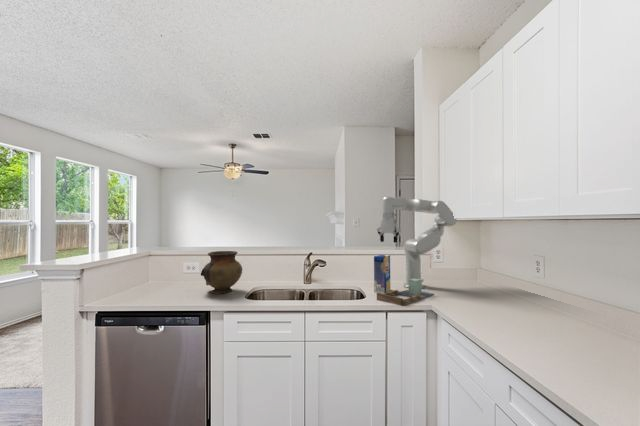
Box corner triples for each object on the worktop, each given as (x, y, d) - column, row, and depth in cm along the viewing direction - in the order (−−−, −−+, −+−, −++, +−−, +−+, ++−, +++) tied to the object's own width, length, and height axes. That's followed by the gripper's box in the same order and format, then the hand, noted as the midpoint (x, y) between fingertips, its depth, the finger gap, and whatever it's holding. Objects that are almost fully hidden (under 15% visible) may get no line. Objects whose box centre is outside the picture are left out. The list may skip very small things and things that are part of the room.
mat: (409, 290, 191) (409, 289, 191) (433, 294, 179) (433, 293, 179) (396, 294, 182) (396, 292, 182) (421, 299, 170) (421, 297, 170)
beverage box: (390, 290, 193) (390, 255, 193) (385, 293, 183) (384, 257, 184) (380, 288, 196) (379, 254, 197) (374, 292, 187) (373, 256, 187)
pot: (204, 299, 173) (203, 255, 173) (197, 291, 193) (196, 252, 193) (247, 292, 185) (246, 252, 186) (237, 286, 206) (236, 249, 206)
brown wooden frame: (396, 294, 181) (396, 288, 182) (420, 299, 170) (420, 292, 170) (376, 299, 169) (376, 293, 169) (401, 305, 157) (401, 298, 157)
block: (414, 291, 184) (413, 278, 185) (421, 293, 181) (421, 279, 181) (408, 293, 180) (408, 279, 181) (416, 294, 177) (416, 280, 177)
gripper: (403, 215, 196) (403, 242, 196) (380, 216, 208) (380, 241, 208) (397, 215, 191) (397, 243, 190) (374, 216, 203) (374, 241, 202)
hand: (388, 242), depth 199 cm, fingers open, 9 cm apart
